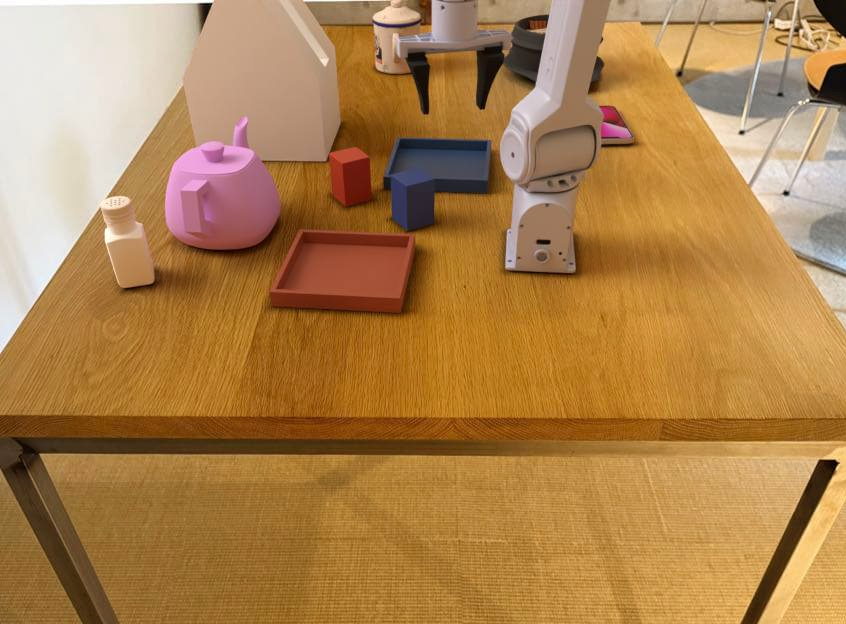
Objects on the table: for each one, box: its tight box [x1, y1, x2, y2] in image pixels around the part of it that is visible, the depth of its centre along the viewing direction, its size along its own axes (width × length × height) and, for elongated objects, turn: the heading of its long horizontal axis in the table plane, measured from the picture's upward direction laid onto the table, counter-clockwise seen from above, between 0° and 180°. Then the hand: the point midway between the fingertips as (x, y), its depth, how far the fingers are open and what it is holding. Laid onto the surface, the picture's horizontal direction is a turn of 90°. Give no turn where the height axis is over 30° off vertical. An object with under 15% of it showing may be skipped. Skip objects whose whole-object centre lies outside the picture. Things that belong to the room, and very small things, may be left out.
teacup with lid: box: [371, 0, 423, 75], centre depth 140 cm, size 12×9×12 cm
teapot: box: [164, 117, 282, 251], centre depth 93 cm, size 13×20×11 cm
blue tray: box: [382, 136, 493, 194], centre depth 108 cm, size 14×14×2 cm
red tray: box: [268, 228, 417, 314], centre depth 86 cm, size 14×14×2 cm
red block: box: [328, 146, 373, 208], centre depth 100 cm, size 4×4×6 cm
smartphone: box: [598, 105, 635, 145], centre depth 120 cm, size 7×1×15 cm
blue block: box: [390, 168, 436, 232], centre depth 95 cm, size 4×4×6 cm
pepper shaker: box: [99, 195, 156, 289], centre depth 84 cm, size 4×4×10 cm
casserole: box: [502, 14, 605, 84], centre depth 138 cm, size 25×19×8 cm
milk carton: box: [181, 0, 342, 162], centre depth 110 cm, size 19×15×25 cm
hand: (452, 109), depth 101 cm, fingers open, 7 cm apart
